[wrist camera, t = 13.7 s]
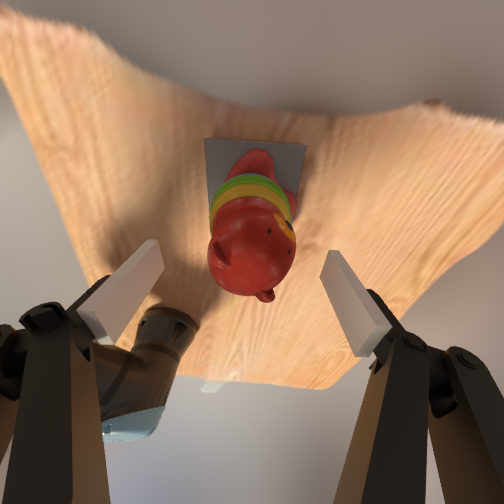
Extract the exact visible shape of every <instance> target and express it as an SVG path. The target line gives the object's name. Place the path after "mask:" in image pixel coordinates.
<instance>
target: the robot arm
mask: <svg viewBox="0 0 504 504" xmlns="http://www.w3.org/2000/svg"><path fill="white" fill-rule="evenodd" d="M164 269H165V266H164V262H163V258H162V254H161V250H160V246H159V242H158V240H153V239H147V240H146V241H145V242H144V243H143V244H142V245H141V246H140V247H139V248H138V249H137V250H136V251H135V252H134V253H133V254H132V255H131V256H130V257H129V258H128V259H127V260H126V261H125V262H124V263H123V264H122V265H121V266H120V267H119V268H118V269H117V270H116V271H115V272H114V273H113V274H112V275H106V276H105V277H103V278H101V279H99V280H98V281H97V282H96V283H95V284H94V285H92V286H91V288H89V289H88V290H87V291H86V293H84V294H83V295H82V296H81V297H80V298H79V299H78V300H77V301H75V302H74V303H73V304H72V305H71V306H70V307H69V308H68V309H67V310H66V311H65V309H64V308H63V307H62V306H61V304H60V303H58V302H48V303H44V304H41V305H38V306H36V307H34V308H32V309H30V310H29V311H27V312H26V313H25V314H24V315H22V316H21V318H20V320H19V322H20V323H21V324H22V325H23V326H24V327H25V328H26V329H20V330H15V329H14V328H12V326H11V325H6V324H3V325H0V504H111V503H110V496H109V486H108V478H107V469H106V460H105V451H104V443H103V442H120V441H133V440H140V439H144V438H146V437H149V436H150V435H151V434H152V433H153V432H154V431H155V430H156V428H157V426H158V423H159V420H160V418H161V416H162V413H163V411H164V409H165V404H166V402H167V398H168V395H169V392H170V389H171V386H172V383H173V380H174V377H175V374H176V371H177V368H178V365H179V362H180V359H181V357H182V356H183V354H184V353H185V352H186V350H187V349H188V347H189V346H190V344H191V343H192V341H193V340H194V338H195V334H196V331H197V327H196V324H195V322H194V321H193V320H192V319H191V318H190V317H189V316H187V315H186V314H184V313H182V312H180V311H177V310H174V309H169V308H155V309H151V310H149V311H147V312H146V313H145V314H144V315H143V316H142V318H141V320H140V321H139V324H138V328H137V332H136V337H135V341H134V345H133V347H132V349H131V351H130V352H129V351H127V350H124V349H122V348H120V347H118V346H116V345H114V344H115V343H116V341H117V340H118V338H119V337H120V335H121V334H122V332H123V331H124V329H125V328H126V326H127V325H128V323H129V322H130V320H131V319H132V317H133V316H134V314H135V313H136V311H137V310H138V308H139V307H140V305H141V304H142V302H143V301H144V299H145V298H146V296H147V295H148V293H149V292H150V290H151V289H152V287H153V286H154V284H155V283H156V281H157V280H158V278H159V277H160V275H161V274H162V272H163V271H164ZM320 279H321V281H322V284H323V286H324V288H325V290H326V293H327V295H328V297H329V299H330V302H331V304H332V306H333V308H334V311H335V313H336V315H337V318H338V320H339V322H340V324H341V327H342V329H343V331H344V333H345V336H346V338H347V340H348V342H349V345H350V347H351V349H352V351H353V354H354V356H355V357H369V356H370V355H371V353H372V352H374V354H375V355H376V357H377V358H376V360H375V361H374V362H373V363H372V364H371V366H370V367H369V369H370V370H371V369H372V371H371V375H370V378H369V381H368V385H367V388H366V392H365V395H364V399H363V402H362V405H361V409H360V412H359V416H358V419H357V423H356V426H355V430H354V433H353V437H352V440H351V443H350V447H349V450H348V454H347V457H346V461H345V464H344V467H343V471H342V474H341V478H340V481H339V485H338V488H337V492H336V495H335V499H334V502H333V504H425V495H426V465H427V435H428V434H427V433H428V429H429V433H430V437H431V442H432V447H433V451H434V455H435V460H436V464H437V469H438V473H439V478H440V482H441V487H442V491H443V495H444V500H445V504H504V398H503V396H502V394H501V392H500V391H499V389H498V387H497V385H496V383H495V381H494V379H493V378H492V376H491V374H490V372H489V370H488V368H487V367H486V366H485V364H484V363H483V362H482V361H481V360H480V359H479V358H478V357H477V356H475V355H474V354H472V353H471V352H469V351H467V350H465V349H463V348H460V347H456V346H453V347H450V348H449V349H448V350H446V351H443V350H440V349H437V348H434V347H431V346H428V345H427V344H426V343H425V342H424V341H423V340H422V339H421V338H420V337H418V336H416V335H415V334H413V333H410V332H407V331H406V330H405V329H404V328H403V327H402V325H401V324H400V323H399V321H398V320H397V319H396V317H395V316H394V315H393V313H392V312H391V311H390V309H388V307H387V305H386V304H384V301H383V300H382V299H381V297H380V296H379V295H378V294H377V293H375V292H374V291H373V290H372V289H365V287H364V286H363V284H362V283H361V282H360V280H359V279H358V277H357V276H356V274H355V273H354V272H353V270H352V269H351V267H350V266H349V264H348V263H347V262H346V260H345V259H344V257H343V256H342V254H341V253H340V252H339V251H337V250H329V251H328V254H327V257H326V260H325V263H324V266H323V269H322V272H321V275H320Z"/></svg>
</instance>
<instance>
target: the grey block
mask: <svg viewBox="0 0 504 504" xmlns="http://www.w3.org/2000/svg"><path fill="white" fill-rule="evenodd" d="M204 144H205V158H206V172H207V186H208V199H209V213H210V208H211V203H212V200H213V198H214V196H215V194H216V192H217V191H218V190H219V188H220V187H221V186H222V185H223V184H224V182H225V179H226V177H227V175H228V173H229V171H230V170H231V168H232V167H233V165H234V164H235V163H236V162H237V161H238V160H239V159H240V158H241V157H242V156H243V155H244V154H245V153H247V152H248V151H250V150H251V149H253V148H259V149H260V150H262V149H265V150H267V151H268V154H269V155H270V156H271V157H272V158H273V162H274V175H275V178H276V180H277V182H278V183H279V185H280V186H281V187H283V188H284V189H286V190H288V191H290V192H292V193H293V194H294V195H295V199H296V197H297V192H298V187H299V181H300V176H301V171H302V166H303V161H304V156H305V151H306V146H305V145H302V144H295V143H281V142H267V141H253V140H239V139H225V138H205V139H204ZM292 217H293V216H291V221H290V224H291V222H292Z"/></svg>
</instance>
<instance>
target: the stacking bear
mask: <svg viewBox="0 0 504 504" xmlns="http://www.w3.org/2000/svg"><path fill="white" fill-rule="evenodd" d="M297 205H298V203H297V200H296V199H295V195H294V194H293V193H292V192H290V191H288V190H286V189H284V188H283V187H281V186H280V185H279V183H278V182H277V180H276V178H275V175H274V162H273V158H272V157H271V156H270V155H269V154H268V151H267V150H265V149H262V150H260V149H259V148H253V149H251V150H250V151H248V152H247V153H245V154H244V155H243V156H242V157H241V158H240V159H239V160H238V161H237V162H236V163H235V164H234V165H233V167H232V168H231V170H230V171H229V173H228V175H227V177H226V179H225V182H224V184H223V185H222V186H221V187H220V188H219V190H218V191H217V192H216V194H215V196H214V198H213V200H212V203H211V208H210V216H209V219H210V232H211V236H212V238H211V240H210V243H209V246H208V254H207V258H208V265H209V268H210V271H211V273H212V276H213V277H214V279H215V280H216V282H217V283H218V284H219V285H220V286H221V287H222V288H223V289H225V290H226V291H228V292H230V293H233V294H236V295H241V296H256V297H257V298H258V299H259V300H260V301H262V302H265V303H269V302H272V301H273V300H274V299H275V294H274V291H273V288H274V287H275V286H277V285H278V284H279V283H280V282H281V281H282V280H283V279H284V277H285V276H286V274H287V273H288V271H289V269H290V267H291V265H292V263H293V260H294V257H295V251H296V238H295V233H294V231H293V228H292V225H291V224H290V221H291V216H293V215H294V214H295V212H296V207H297Z"/></svg>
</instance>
